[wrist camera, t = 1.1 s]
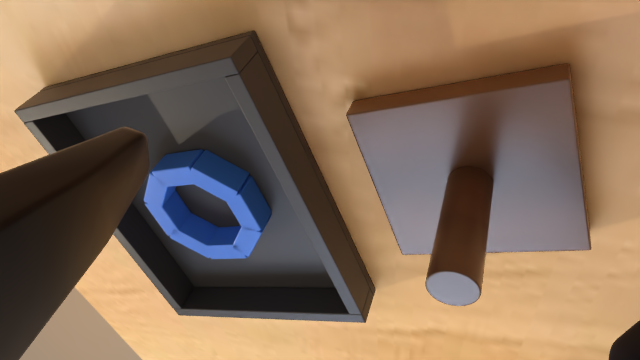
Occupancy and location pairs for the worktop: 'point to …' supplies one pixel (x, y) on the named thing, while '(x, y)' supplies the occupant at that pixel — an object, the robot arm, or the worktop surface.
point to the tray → (235, 147)
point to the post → (477, 172)
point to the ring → (217, 181)
